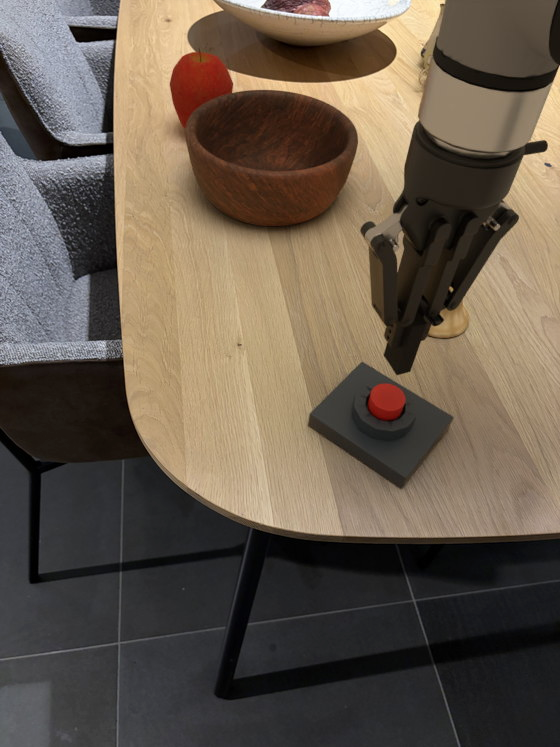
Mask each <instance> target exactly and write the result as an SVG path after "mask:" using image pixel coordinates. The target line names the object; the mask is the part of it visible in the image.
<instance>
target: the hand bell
mask: <svg viewBox="0 0 560 747" xmlns="http://www.w3.org/2000/svg"><path fill="white" fill-rule="evenodd" d="M449 289H450V291H451V292H452V291H453V288H452V287H451V286H450V287H449ZM463 302H464V298H463V299H462V301H461V303H460V304H459V306H458V307H457V308H456V309H454V310H452V311H448V310H447V308H446V309H444V310H442V311H441V312H440V315H441V316H442V318H443V319H444V321H443V322H442V323H441V324H440V325H438V326H432V325H431V328H430V330H429V333H428V336H429V337H433V338H441V339H448V338H454V337H457V336H460V335H461V334H463V333H464V332H466V330H467V329H468V327H469V324H470V315H469V313H468V310H467V308H466V307H465V305H464V303H463Z"/></svg>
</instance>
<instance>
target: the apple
mask: <svg viewBox="0 0 560 747" xmlns="http://www.w3.org/2000/svg"><path fill="white" fill-rule="evenodd" d="M169 89H170V95H171V100H172V105H173V108H174V110H175V113H176V115H177V117H178V120H179V122H180V124H181V126H182V127H183V129H186V124H187V121H188V119H189V117H190V115H191V114H192V113H193V112H194V111H195V110H196V109H197V108H198V107H199V106H201V105H202V104H204V103H206V102H207V101H209V100H212V99H214V98H216V97H219V96H222V95H226V94H229V93H233V92H234V91H233V90H234V82H233V79H232V77H231V75H230V72H229V70H228V68H227V66H226V65H225V63H224V62H223V61H222V60H221V58H220V57H219V56H216V55H214V54H211V53H207V52H202V51H201V49H200V47H199V48H198V51H192V52H189V53H186V54H184V55H182V56H181V57H180V58H179V60H178V61H177V63H176V64H175V65H174V67H173V69H172V72H171V75H170V80H169Z"/></svg>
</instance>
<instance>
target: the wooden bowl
mask: <svg viewBox="0 0 560 747" xmlns="http://www.w3.org/2000/svg"><path fill="white" fill-rule="evenodd" d="M184 129H185V130H184V134H185V142H186V147H187V148H186V149H187V153H188V157H189V161H190V165H191V168H192V172H193V175H194V178H195V180H196V183H197V185H198V187H199V188H200V190H201V191H202V193H203V195H204V196H205V197H206V199H207V200H208V201H209V203H210V204H211V205H212V206H214V207H215V208H216V209H217V210H218V211H220V212H221V213H223V214H224V215H226V216H228V217H229V218H232V219H234V220H237V221H239V222H243V223H246V224H250V225H254V226H263V227H287V226H292V225H298V224H302V223H305V222H307V221H310V220H312V219H314V218H316V217H318V216H319V215H321V214H323V213H324V212H325V211H326V210H327V209H329V207H331V205H332V204H334V202H335V200H336V199H337V198H338V196H339V195H340V194H341V192H342V191H343V189H344V186H345V185H346V183H347V180H348V179H349V178H348V177H349V176H350V173H351V170H352V166H353V163H354V160H355V158H356V154H357V151H358V146H359V135H358V132H357V129H356V126H355V124H354V123H353V122H352V120H351V119H350V118H349V117H348V116H347V115H346V114H345V113H344V112H342V111H341V110H340V109H338V108H337V107H335V106H333V104H330V103H328V102H326V101H323V100H321V99H318V98H315V97H313V96H310V95H306V94H303V93H298V92H293V91H286V90H277V89H276V90H275V89H250V90H240V91H235V92H234V91H233V92H232V93H229V94H226V95H222V96H219V97H216V98H214V99H212V100H209V101H207V102H206V103H204V104H202V105H201V106H199V107H198V108H197V109H196V110H195V111H194V112H193V113H192V114H191V115H190V117H189V119H188V121H187V124H186V128H184Z"/></svg>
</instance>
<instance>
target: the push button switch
mask: <svg viewBox="0 0 560 747" xmlns="http://www.w3.org/2000/svg"><path fill="white" fill-rule="evenodd" d="M379 384H392V385H394V386H396V387H398V388H399V389H401V390H402V392H403V393H404V395H405V404H404V407H403V410H402V413H401V415H400V416H399V417H398V418H397V419H395V420H391V421H384V420H380V419H378V418H376V417H374V416H373V415H372V414H371V413H370V411H369V409H368V401H369V397H370V394H371V391H372V389H373V388H374V387H375V386H377V385H379ZM454 418H455V417H454V416H453V415H451V414H449V413H448V412H447V411H444V410H443V409H441V408H440V407H438V406H436V405H434V403H431V402H430V401H428V400H426V399H425V398H423V397H421V396H419V394H417V393H415V392H414V391H411V390H410V389H408V388H407V387H405V386H403V385H402V384H400V383H398V382H397V381H395V380H394V379H392V378H391V377H388V376H387V375H385V374H384V373H382V372H380V371H379V370H377V369H376V368H374V367H372V366H370V365H369V364H367V363H366V362H364V361H361V362H359V364H357V365H356V367H355V368H353V370H352V371H351V372H350V373H348V375H347V376H345V378H344V379H343V380H341V382H339V384H338V385H336V386H335V387H334V389H333V390H331V392H330V393H329V394H328V395H326V396H325V397H324V398H323V399H322V400H321V401H320V403H319V404H318V405H316V407H314V409H312V410H311V411H310V412H309V415H308V422H307V426H308V427H309V428H311V429H312V430H314V431H315V432H317V433H318V434H320V435H322V436H323V437H324V438H326V439H327V440H329V441H330V442H332V443H333V444H334V445H336V446H338V447H339V448H340V449H341V450H343V451H345V452H346V453H347V454H349V455H351V456H352V457H354V458H355V459H356V460H358V461H359V462H361V463H362V464H364V465H365V466H367V467H368V468H369V469H371V470H373V471H374V472H375V473H377V474H379V475H380V476H381V477H384V479H386V480H387V481H388V482H390V483H391V484H393V485H395V486H396V487H398V488H399V489H401V490H402V489H403V488H404V487H405V486H406V484H408V482H409V480H410V479H411V478H412V476H413V475H414V474H415V473H416V471H417V470H418V469H419V468H420V466H422V464H423V462H424V461H425V460H426V459H427V458H428V456H429V454H430V453H431V452H432V451H433V449H435V447H436V446H437V445H438V444H439V442H440V441H441V440H442V438H443V437H444V436H445V434H446V433H447V431H448V430H449V429H450V427H451V424H452V423H453V420H454Z"/></svg>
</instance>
